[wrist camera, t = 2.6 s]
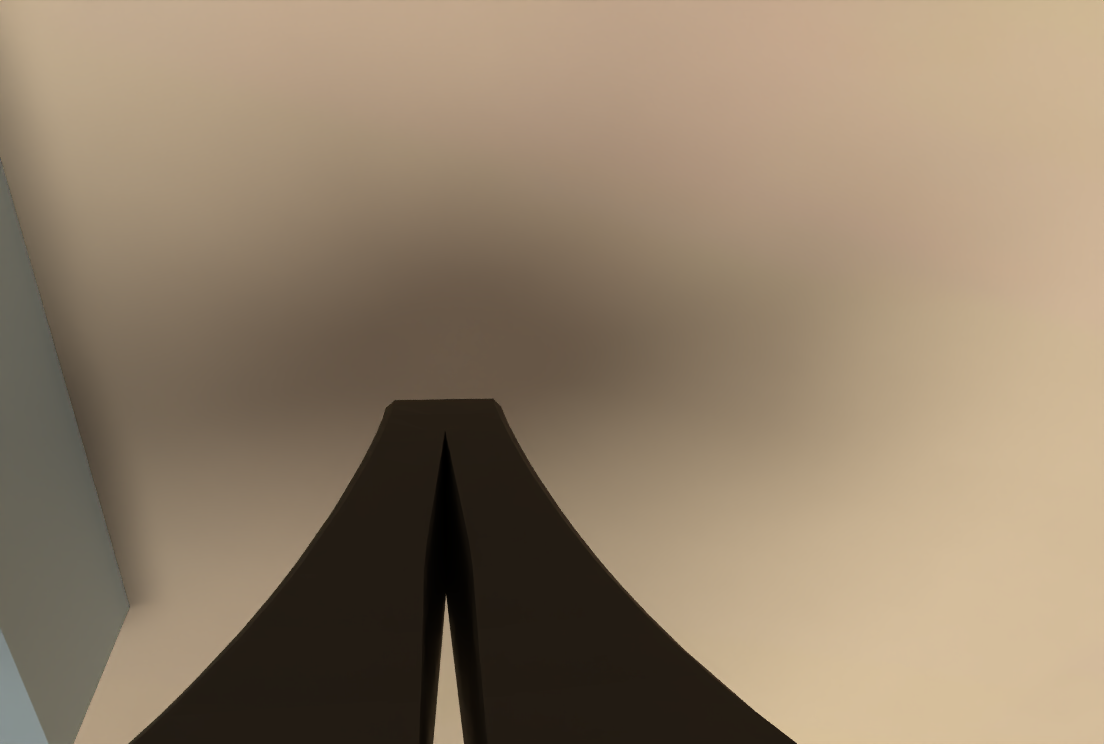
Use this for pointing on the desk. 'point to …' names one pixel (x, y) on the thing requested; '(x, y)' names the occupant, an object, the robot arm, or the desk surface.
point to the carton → (46, 525)
